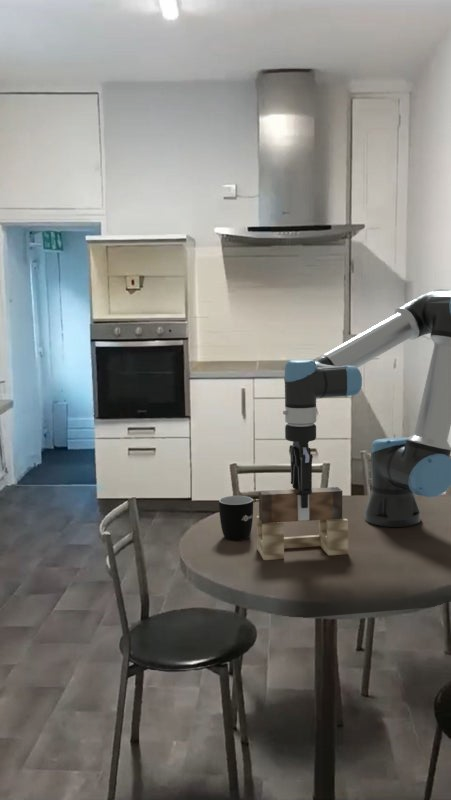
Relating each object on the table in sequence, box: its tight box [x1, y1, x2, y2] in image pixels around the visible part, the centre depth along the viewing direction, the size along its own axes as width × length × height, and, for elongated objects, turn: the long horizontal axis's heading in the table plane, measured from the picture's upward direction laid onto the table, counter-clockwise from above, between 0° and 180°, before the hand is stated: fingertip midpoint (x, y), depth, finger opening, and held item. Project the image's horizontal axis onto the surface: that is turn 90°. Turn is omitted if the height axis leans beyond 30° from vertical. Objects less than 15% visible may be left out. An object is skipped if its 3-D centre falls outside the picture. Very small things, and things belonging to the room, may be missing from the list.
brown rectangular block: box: [258, 486, 343, 523], centre depth 198 cm, size 20×4×7 cm, turn 98°
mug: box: [218, 495, 254, 542], centre depth 213 cm, size 12×9×10 cm
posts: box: [255, 515, 349, 561], centre depth 199 cm, size 21×9×8 cm, turn 98°
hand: (301, 517), depth 199 cm, fingers closed on brown rectangular block, 4 cm apart
